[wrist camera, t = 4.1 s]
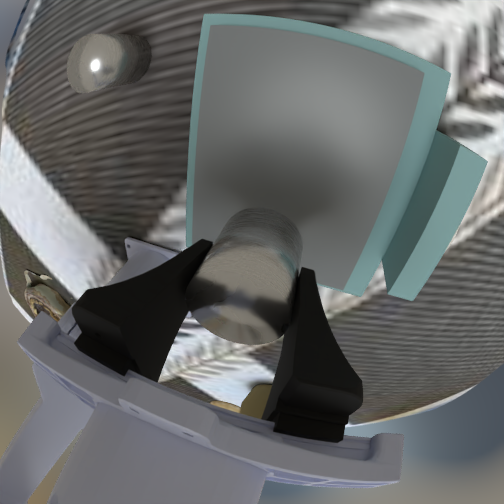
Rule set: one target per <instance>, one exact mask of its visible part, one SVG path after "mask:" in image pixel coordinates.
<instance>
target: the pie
mask: <svg viewBox="0 0 504 504" xmlns="http://www.w3.org/2000/svg"><path fill="white" fill-rule="evenodd" d="M28 272H30V271H27V270H26V271H25V272H24V273H25V276H26V280H27V287H28V288H27V289H26V290H25V299H26V301H27V302H28V304H29V306H30V308H31V310H32V312H33V313H34V315H35V317H37V315H38V314H39V313H40V312H41V311H43V312H45V313H46V314H47V315H49V316H50V317H52V318H53V319H54V320H55V321H56V322H57V323H58V321H59V320H60V319H61V318H62V316H63V315H64V314H65V313H66V312H67V310H68V309H69V308H70V306H69V305H67V304H66V303H65V301H64V300H63V299H62V298H61V296H60V295H59V293H57V292H56V291H54V290H53V289H51V288H50V287H47V286H45V285H43V284H38V286H35V287H31V284H30V283H32V282H31V280H30V278H29V276H28ZM32 274H33V273H32ZM34 275H35V274H34ZM37 276H38V275H37ZM40 278H42V279H47V278H50V277H48V276H46V275H41V276H40ZM50 279H51V278H50ZM52 280H53V279H52Z"/></svg>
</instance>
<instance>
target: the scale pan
mask: <svg viewBox="0 0 504 504" xmlns="http://www.w3.org/2000/svg"><path fill="white" fill-rule="evenodd" d="M424 74H425V73H424V72H422V71H419V70H417V69H415V68H413V67H411V66H408V65H406V64H404V63H401V62H399V61H396V60H394V59H391V58H388V57H386V56H383V55H380V54H378V53H375V52H372V51H369V50H366V49H363V48H359V47H356V46H353V45H349V44H346V43H342V42H338V41H335V40H331V39H326V38H322V37H318V36H313V35H308V34H303V33H297V32H291V31H285V30H277V29H269V28H260V27H249V26H231V25H210V31H209V37H208V44H207V51H206V58H205V65H204V73H203V81H202V90H201V99H200V109H199V119H198V130H197V143H196V157H195V173H194V193H193V221H192V245H193V244H194V243H196V242H197V241H199V240H201V239H205V240H209V241H212V242H213V243H214V242H215V240H216V239H217V237H218V235H219V234H220V232H221V231H222V229H223V227H224V226H225V224H226V223H227V221H228V220H229V219H230V218H231V217H232V216H233V215H234V214H235V213H237V212H239V211H241V210H244V209H248V208H255V207H259V208H267V209H271V210H274V211H277V212H279V213H281V214H283V215H284V216H286V217H287V218H288V219H289V220H290V221H292V222H293V224H294V225H295V226H296V227H297V229H298V230H299V232H300V235H301V237H302V241H303V252H302V258H301V264H300V270H299V274H300V271H301V268H302V267H305V268H308V269H312V270H314V271H315V276H316V282H317V283H318V284H322V285H325V286H329V287H332V288H336V289H340V290H343V289H344V288H345V286H346V284H347V282H348V280H349V278H350V276H351V274H352V272H353V270H354V268H355V266H356V264H357V262H358V259H359V257H360V255H361V253H362V251H363V249H364V247H365V245H366V242H367V240H368V238H369V236H370V233H371V231H372V229H373V227H374V224H375V222H376V220H377V217H378V215H379V213H380V210H381V208H382V205H383V203H384V200H385V198H386V195H387V193H388V190H389V188H390V185H391V183H392V180H393V177H394V174H395V172H396V169H397V166H398V163H399V161H400V158H401V155H402V152H403V149H404V146H405V143H406V140H407V136H408V133H409V130H410V127H411V123H412V120H413V117H414V113H415V110H416V106H417V102H418V98H419V95H420V91H421V87H422V82H423V78H424ZM298 277H299V276H298Z"/></svg>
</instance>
